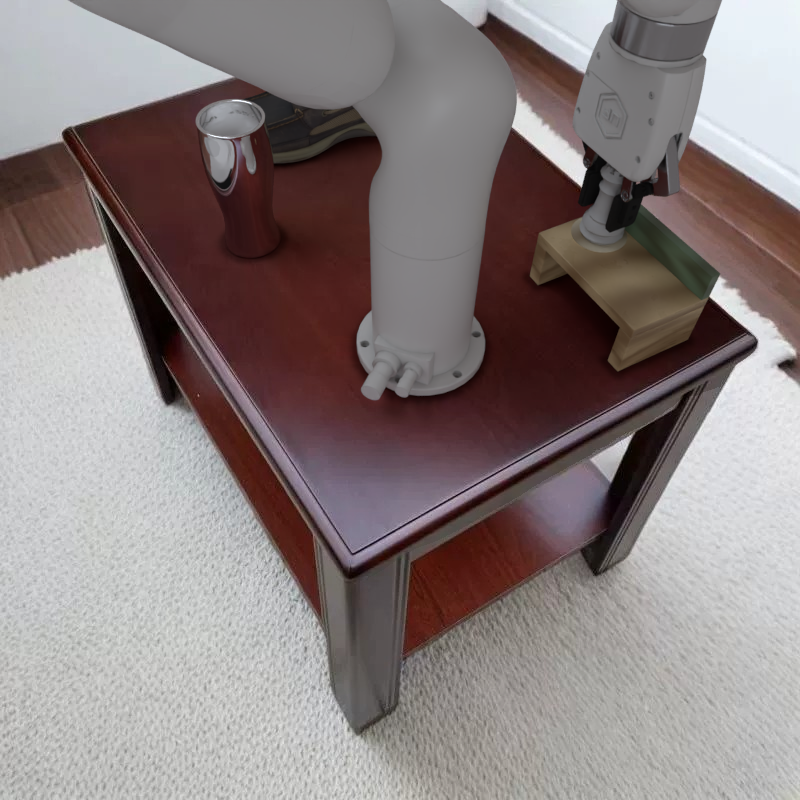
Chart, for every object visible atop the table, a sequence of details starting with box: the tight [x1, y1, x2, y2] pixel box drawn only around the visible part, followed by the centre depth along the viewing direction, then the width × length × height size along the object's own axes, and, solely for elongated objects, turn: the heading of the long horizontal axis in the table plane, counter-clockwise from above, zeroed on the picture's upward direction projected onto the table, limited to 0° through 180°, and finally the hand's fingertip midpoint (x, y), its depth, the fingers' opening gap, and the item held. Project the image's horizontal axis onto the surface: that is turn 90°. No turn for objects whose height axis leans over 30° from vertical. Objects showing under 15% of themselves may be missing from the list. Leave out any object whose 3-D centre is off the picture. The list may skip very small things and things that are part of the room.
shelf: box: [529, 203, 721, 372], centre depth 72 cm, size 15×9×9 cm, turn 28°
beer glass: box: [195, 98, 281, 259], centre depth 75 cm, size 7×7×15 cm
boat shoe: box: [241, 91, 377, 164], centre depth 90 cm, size 11×29×11 cm, turn 115°
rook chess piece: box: [579, 162, 625, 245], centre depth 71 cm, size 4×4×8 cm
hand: (605, 212), depth 72 cm, fingers open, 3 cm apart
